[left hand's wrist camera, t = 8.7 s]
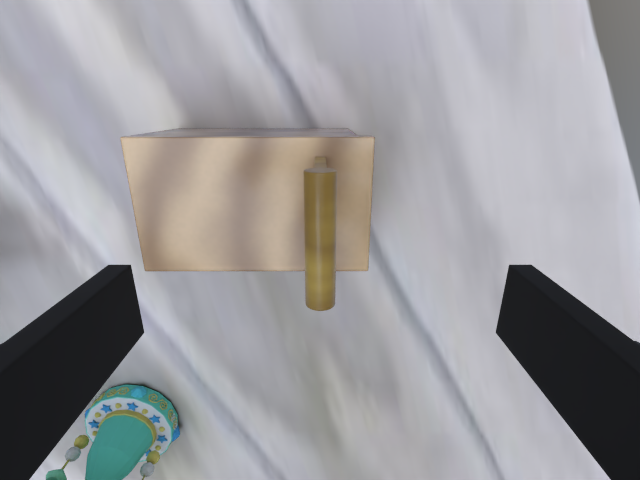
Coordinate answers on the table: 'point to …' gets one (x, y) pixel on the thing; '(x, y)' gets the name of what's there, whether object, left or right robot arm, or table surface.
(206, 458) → the table surface
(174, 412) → the decorative hourglass
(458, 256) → the table surface
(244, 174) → the cabinet door
